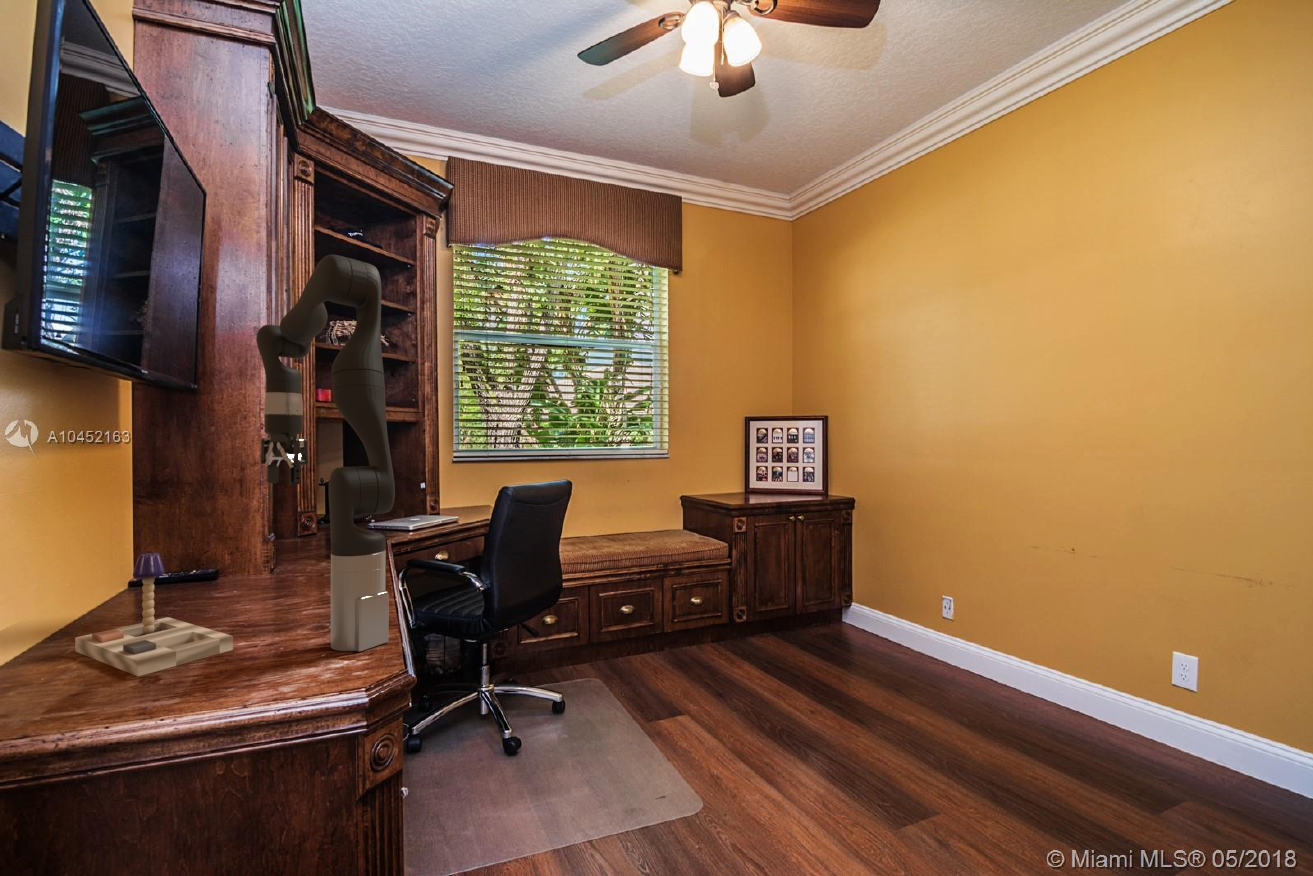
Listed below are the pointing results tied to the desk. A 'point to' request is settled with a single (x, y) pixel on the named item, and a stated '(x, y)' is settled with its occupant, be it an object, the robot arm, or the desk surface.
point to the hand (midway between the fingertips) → (283, 483)
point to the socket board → (153, 646)
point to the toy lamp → (148, 586)
